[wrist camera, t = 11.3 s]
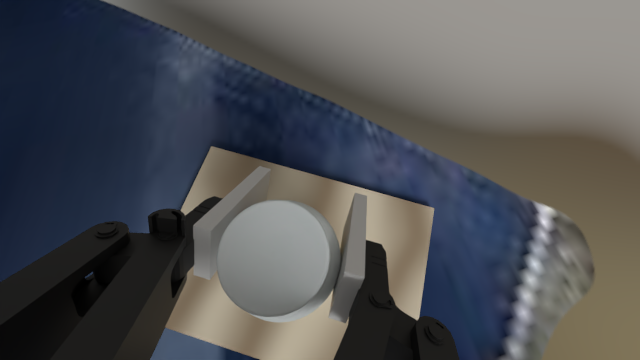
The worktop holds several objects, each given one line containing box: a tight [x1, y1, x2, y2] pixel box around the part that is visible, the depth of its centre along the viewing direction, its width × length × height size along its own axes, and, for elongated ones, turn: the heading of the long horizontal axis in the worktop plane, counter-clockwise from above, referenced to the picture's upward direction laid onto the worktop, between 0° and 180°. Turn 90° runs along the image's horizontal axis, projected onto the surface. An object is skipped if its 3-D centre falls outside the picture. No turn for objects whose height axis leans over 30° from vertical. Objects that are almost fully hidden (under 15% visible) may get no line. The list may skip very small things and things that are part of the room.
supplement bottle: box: [216, 200, 341, 322], centre depth 13 cm, size 5×5×10 cm
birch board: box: [165, 146, 434, 360], centre depth 20 cm, size 20×14×1 cm
